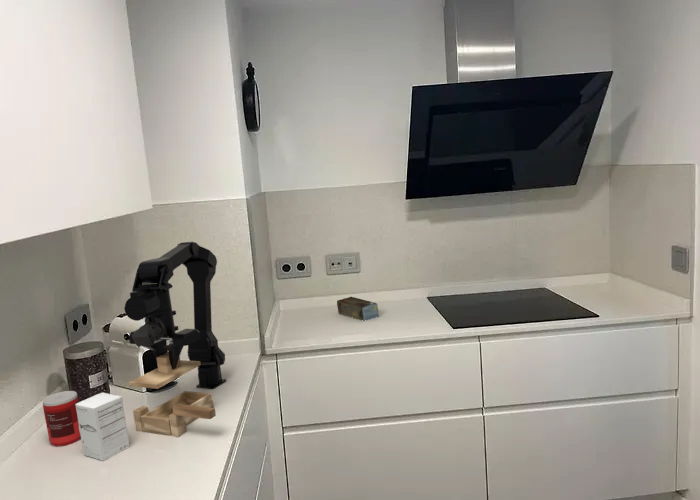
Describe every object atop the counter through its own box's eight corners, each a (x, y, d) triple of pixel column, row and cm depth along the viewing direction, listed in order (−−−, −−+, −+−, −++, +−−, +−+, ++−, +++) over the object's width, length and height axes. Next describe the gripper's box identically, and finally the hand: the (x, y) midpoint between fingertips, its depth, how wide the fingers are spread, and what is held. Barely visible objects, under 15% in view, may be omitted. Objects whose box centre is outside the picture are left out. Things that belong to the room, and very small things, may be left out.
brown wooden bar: (179, 411, 133) (178, 404, 133) (215, 415, 129) (214, 408, 128) (173, 414, 132) (172, 407, 131) (210, 419, 127) (209, 411, 127)
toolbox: (180, 404, 151) (178, 386, 151) (220, 408, 146) (218, 389, 145) (136, 430, 137) (132, 410, 136) (178, 437, 131) (175, 416, 131)
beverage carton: (363, 322, 218) (361, 305, 217) (337, 314, 233) (335, 299, 233) (379, 317, 222) (377, 301, 221) (352, 310, 238) (351, 295, 237)
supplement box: (82, 456, 127) (73, 403, 125) (111, 441, 133) (103, 391, 131) (102, 462, 123) (93, 408, 121) (131, 446, 129) (122, 395, 127)
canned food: (75, 429, 142) (68, 388, 140) (90, 436, 137) (83, 394, 135) (44, 442, 136) (36, 399, 134) (58, 450, 131) (50, 405, 129)
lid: (174, 363, 150) (171, 345, 150) (200, 364, 147) (198, 346, 146) (129, 386, 136) (126, 366, 135) (157, 388, 132) (154, 368, 132)
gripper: (107, 317, 137) (117, 378, 139) (166, 319, 129) (175, 382, 131) (141, 306, 147) (149, 362, 149) (197, 306, 139) (205, 366, 141)
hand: (168, 368), depth 142 cm, fingers closed on lid, 3 cm apart
